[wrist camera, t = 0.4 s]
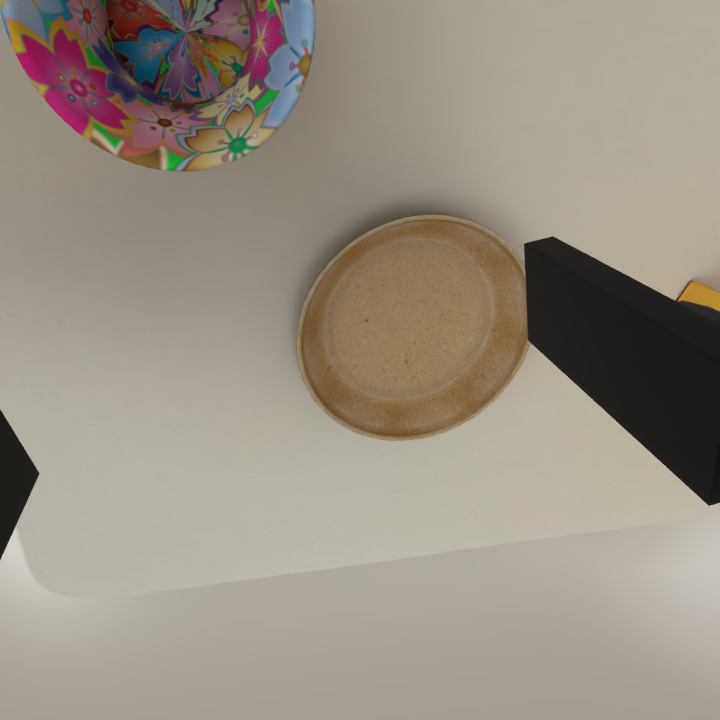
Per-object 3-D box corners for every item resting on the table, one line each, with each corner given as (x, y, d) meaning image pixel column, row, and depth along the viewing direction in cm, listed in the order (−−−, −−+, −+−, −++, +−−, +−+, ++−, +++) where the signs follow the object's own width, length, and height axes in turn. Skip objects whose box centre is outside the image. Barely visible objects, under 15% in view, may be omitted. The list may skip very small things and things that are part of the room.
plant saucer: (528, 378, 40) (546, 397, 38) (331, 448, 39) (337, 471, 37) (500, 171, 33) (520, 179, 30) (257, 251, 32) (259, 265, 30)
